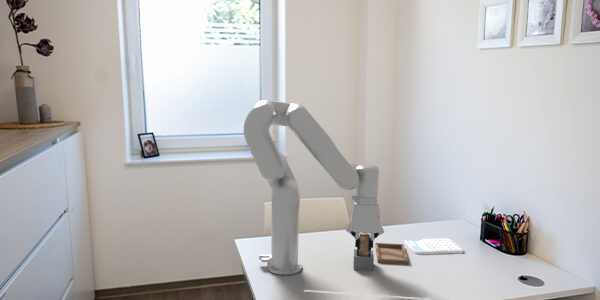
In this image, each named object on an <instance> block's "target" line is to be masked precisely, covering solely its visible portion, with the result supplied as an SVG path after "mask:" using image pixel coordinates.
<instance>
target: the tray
mask: <svg viewBox="0 0 600 300" xmlns="http://www.w3.org/2000/svg"><path fill="white" fill-rule="evenodd" d="M374 247H375V253H376V259H377V263H379V264H389V265H390V264H391V265H394V264H395V265H407V266H408V265H409V258H408V255H407V251H406V248H405V245H404V244H403V243H388V242H387V243H386V242H385V243H384V242H374Z"/></svg>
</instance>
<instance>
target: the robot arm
mask: <svg viewBox="0 0 600 300" xmlns="http://www.w3.org/2000/svg"><path fill="white" fill-rule="evenodd" d="M273 125H274V126H281V127H288V129H290V130H291V132H292V133H293V134H294V135H295V137H297V139H298V140H299V141H300V142H301V143H302V144H303V146H304V147H305V148H306V149H307V151H308V152H309V153H310V154H311V155H312V157H313V158H314V159H315V160H316V161H317V162H318V163H319V164H320V166H322V168H323V169H324V170H325V172H326V173H327V174H328V175H329V177H331V179H332V180H333V182H335V183H336V184H337V186H338V187H339V188H340V189H342V190H345V191H352V190H354V189H355V194H354V195H351V201H354V202H353V204H352V209H351V216H350V221H349V223H348V224H347V225H346V228H345V232H347V233H349V234H351V236H353V238H354V239H355V245H354V247H355V248H356V249H357V250H359V244H360V239H359V236H360V233H368V234H370V240H369V251H371V250H372V249H374V242H375V239H377V238H378V237H379V236H381V235H383V234H385V230H384V228H383V225H382V224H381V210H380V209H381V207H380V203H378V195H379V194H378V191H379V189H378V188H379V175H380V169H379V167H378V166H376V165H374V164H370V163H369V164H367V163H364V164H354V163H350V162H348V160H347V159H346V158H345V157H344V155H343V154H342V152H341V151H340V150H339V148H338V147H337V146H336V144H335V143H334V141H333V139H332V137H330V135H329V134H328V133H327V132H326V131H325V129H323V128H322V126H321V125H320V123H318V121H317V120H316V118H314V117H313V115H312V114H311V113H310V112H309V111H308V109H307V108H306V106H304V105H302V104H300V103H290V102H283V101H275V100H269V99H263V100H259V101H258V102H256V103H255V104H254V105H253V107H252V108H251V110H249V112H248V114H247V116H246V117H245V120H244V123H243V136H244V139H245V142H246V144H247V147H248V149H249V150H250V153H251V156H252V158H253V159H254V161H255V163H256V166H257V168H258V170H259V173H260V174H261V177H262V178H264V179H265V180H266V181H267V182H268V185H269V186H270V188H271V247H270V248H271V253H269V254H263V253H262V254H259V257H258V259H259V260H260V261H261V263H266V269H267V271H269V272H270V273H272V274H275V275H281V276H288V275H289V276H290V275H294V274H297V273H299V272H300V271H302V269H303V263H302V262H301V261H299V233H300V232H299V231H300V230H299V229H300V226H299V225H300V204H301V203H300V201H301V200H300V198H301V197H300V189H299V184H298V181H297V180H296V178H295V175H294V174H293V171H292V170H291V167H290V165H289V163H288V161H287V158H286V156H285V155H284V153H282V151H279V150H278V149H277V148H278V147H277V146H276V144H275V141H274V138H272V136H271V133H270V127H271V126H273Z"/></svg>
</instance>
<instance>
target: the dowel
mask: <svg viewBox="0 0 600 300" xmlns="http://www.w3.org/2000/svg"><path fill="white" fill-rule="evenodd" d="M370 236H371V235H370V233H359V239H360V244H359V256H366V257H369V240H370Z"/></svg>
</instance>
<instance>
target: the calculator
mask: <svg viewBox="0 0 600 300" xmlns="http://www.w3.org/2000/svg"><path fill="white" fill-rule="evenodd" d="M404 243H405V245H406V246H407V247H408V248H409V249H411V250H412V252H413V253H414V254H415V255H443V254H444V255H445V254H446V255H447V254H448V255H450V254H462V253H464V249H463V248H462V247H461V246H459V245H458V244H457V243H456V242H455V241H453V240H452V239H450V238H443V237H442V238H441V237H440V238H414V239H411V238H408V239H405V240H404Z"/></svg>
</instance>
